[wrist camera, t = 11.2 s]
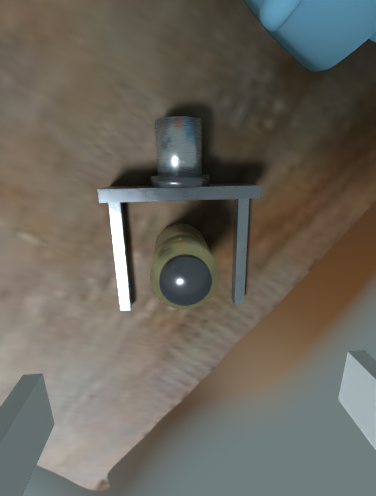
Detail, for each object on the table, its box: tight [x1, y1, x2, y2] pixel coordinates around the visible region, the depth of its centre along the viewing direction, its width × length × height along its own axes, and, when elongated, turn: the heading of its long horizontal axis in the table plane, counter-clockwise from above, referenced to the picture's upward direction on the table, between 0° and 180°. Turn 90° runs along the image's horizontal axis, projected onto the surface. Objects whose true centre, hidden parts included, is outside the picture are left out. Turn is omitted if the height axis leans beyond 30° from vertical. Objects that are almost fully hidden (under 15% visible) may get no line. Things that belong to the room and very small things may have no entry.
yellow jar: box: [150, 224, 220, 309], centre depth 26 cm, size 6×6×10 cm
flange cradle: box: [98, 116, 261, 311], centre depth 27 cm, size 21×15×6 cm
